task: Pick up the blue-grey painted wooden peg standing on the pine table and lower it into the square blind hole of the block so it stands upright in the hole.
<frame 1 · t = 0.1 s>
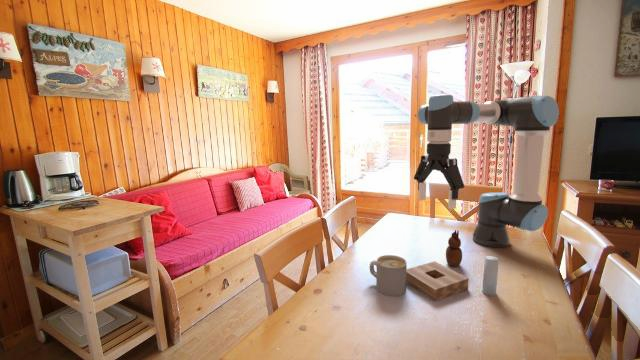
hand: (436, 204, 108), 28 cm above the table, fingers open, 13 cm apart
coffee mug: (387, 286, 109), on the table
bore block: (434, 284, 109), on the table
peg: (489, 292, 103), on the table
wooden figurine: (453, 265, 124), on the table
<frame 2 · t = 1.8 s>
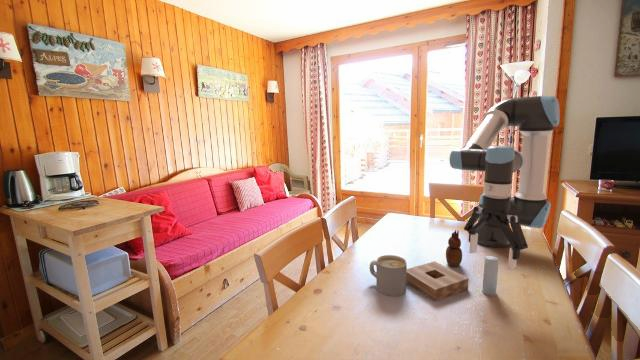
hand: (491, 260, 101), 12 cm above the table, fingers open, 13 cm apart
nothing on the table moved.
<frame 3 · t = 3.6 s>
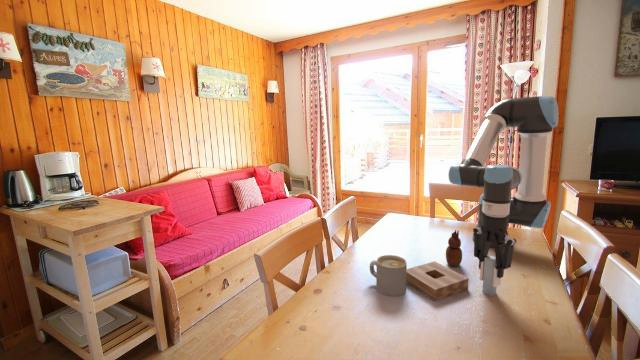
hand: (489, 282, 103), 4 cm above the table, fingers closed on peg, 4 cm apart
peg: (489, 292, 103), on the table, touching gripper
everything else where it was.
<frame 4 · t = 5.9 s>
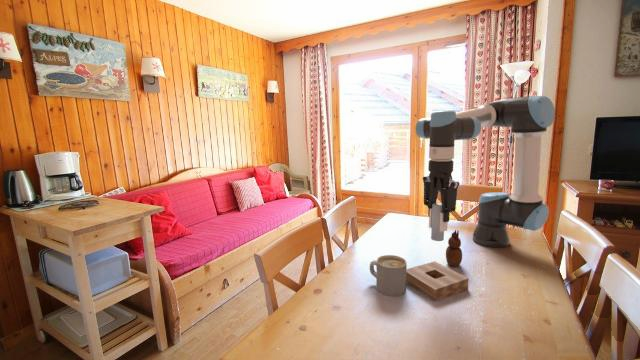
hand: (437, 228, 105), 21 cm above the table, fingers closed on peg, 4 cm apart
peg: (437, 238, 106), point 17 cm above the table, touching gripper
everything else where it was.
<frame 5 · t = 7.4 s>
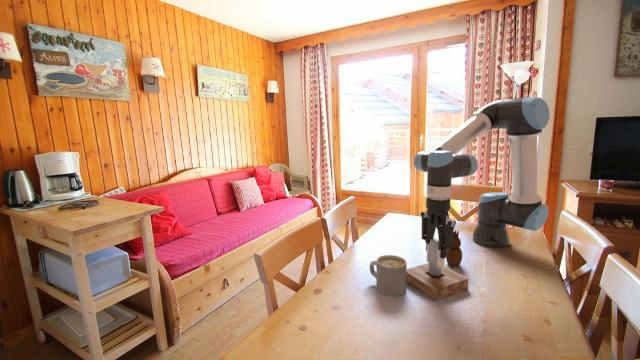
hand: (435, 263, 107), 8 cm above the table, fingers closed on peg, 4 cm apart
peg: (434, 273, 108), point 4 cm above the table, touching gripper
everything else where it was.
when the fingers open (6 cm above the table, at t = 8.6 s): peg drops 1 cm, resting on bore block.
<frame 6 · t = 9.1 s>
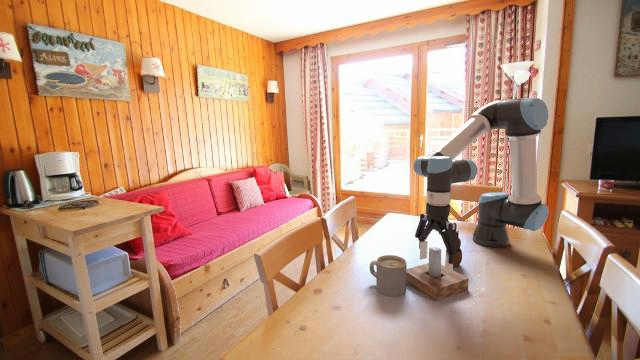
hand: (435, 264, 108), 7 cm above the table, fingers open, 11 cm apart
peg: (434, 281, 109), point 1 cm above the table, touching bore block
everything else where it was.
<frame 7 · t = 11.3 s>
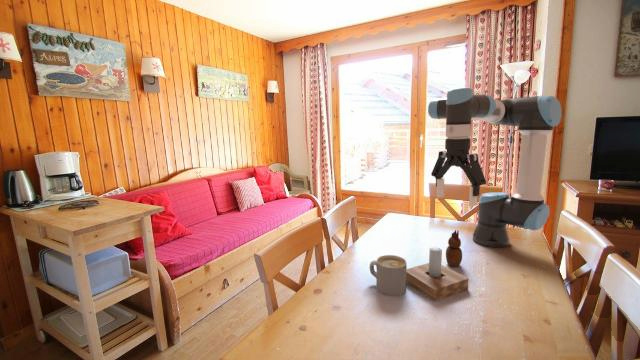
hand: (455, 200, 105), 30 cm above the table, fingers open, 13 cm apart
nothing on the table moved.
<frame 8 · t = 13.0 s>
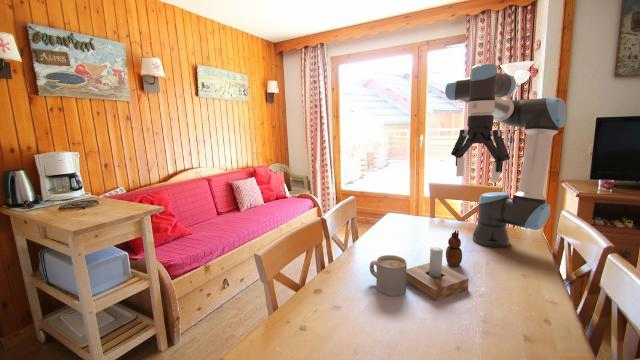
hand: (476, 178, 105), 37 cm above the table, fingers open, 13 cm apart
nothing on the table moved.
at the end: peg 0.1 cm off-centre on the bore block, point 1.1 cm above the bore block's base; peg tilted 1°; the gripper is holding nothing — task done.
